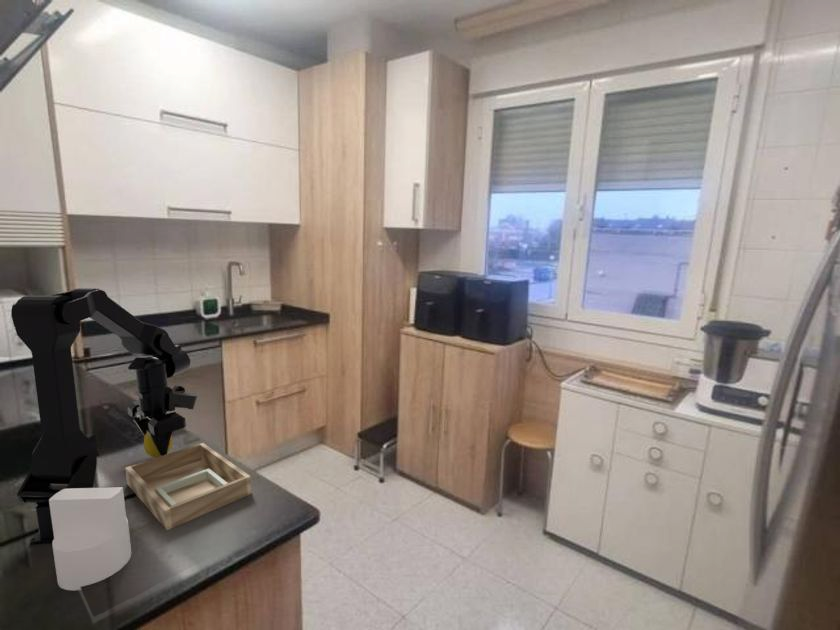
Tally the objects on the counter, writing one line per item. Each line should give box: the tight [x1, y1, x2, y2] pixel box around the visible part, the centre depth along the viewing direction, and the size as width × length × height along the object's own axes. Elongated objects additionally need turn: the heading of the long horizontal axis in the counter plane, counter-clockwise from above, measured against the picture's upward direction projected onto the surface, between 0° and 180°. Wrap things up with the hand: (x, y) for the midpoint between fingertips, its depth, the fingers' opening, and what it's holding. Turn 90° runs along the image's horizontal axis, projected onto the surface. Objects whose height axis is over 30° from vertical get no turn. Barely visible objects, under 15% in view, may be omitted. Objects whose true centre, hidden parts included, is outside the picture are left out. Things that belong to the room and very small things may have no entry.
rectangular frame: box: [155, 468, 227, 507], centre depth 85 cm, size 10×10×2 cm
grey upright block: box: [49, 486, 132, 591], centre depth 65 cm, size 9×9×12 cm
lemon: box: [143, 432, 173, 458], centre depth 99 cm, size 6×6×8 cm
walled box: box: [124, 442, 253, 531], centre depth 86 cm, size 22×15×4 cm
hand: (159, 450), depth 100 cm, fingers closed on lemon, 5 cm apart
